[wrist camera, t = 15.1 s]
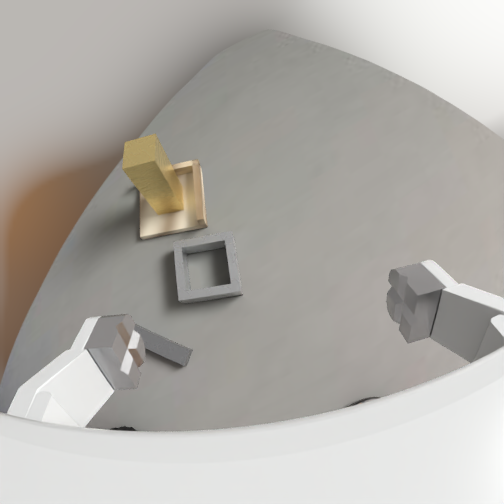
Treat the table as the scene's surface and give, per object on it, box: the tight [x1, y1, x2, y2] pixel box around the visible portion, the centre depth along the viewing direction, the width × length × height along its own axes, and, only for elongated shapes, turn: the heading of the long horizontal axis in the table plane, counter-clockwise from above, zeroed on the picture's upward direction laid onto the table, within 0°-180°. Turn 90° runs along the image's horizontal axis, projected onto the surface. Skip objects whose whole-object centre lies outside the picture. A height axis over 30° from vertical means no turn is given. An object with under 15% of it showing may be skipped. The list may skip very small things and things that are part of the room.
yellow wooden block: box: [122, 134, 184, 215], centre depth 41 cm, size 4×4×14 cm
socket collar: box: [173, 231, 243, 304], centre depth 44 cm, size 9×9×3 cm
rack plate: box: [140, 159, 208, 239], centre depth 48 cm, size 11×11×3 cm
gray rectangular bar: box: [134, 324, 193, 366], centre depth 42 cm, size 10×2×2 cm, turn 70°
